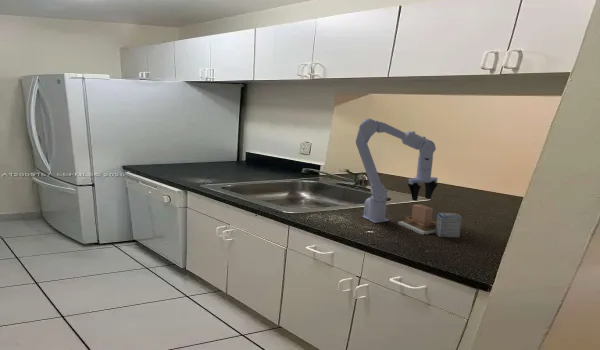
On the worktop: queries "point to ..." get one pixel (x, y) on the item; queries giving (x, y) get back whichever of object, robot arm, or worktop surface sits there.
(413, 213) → the key block
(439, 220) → the medicine box
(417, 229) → the cradle
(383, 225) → the worktop surface
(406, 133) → the robot arm
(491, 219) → the worktop surface
